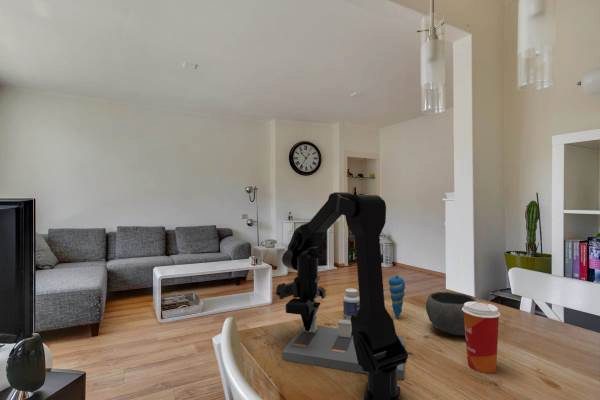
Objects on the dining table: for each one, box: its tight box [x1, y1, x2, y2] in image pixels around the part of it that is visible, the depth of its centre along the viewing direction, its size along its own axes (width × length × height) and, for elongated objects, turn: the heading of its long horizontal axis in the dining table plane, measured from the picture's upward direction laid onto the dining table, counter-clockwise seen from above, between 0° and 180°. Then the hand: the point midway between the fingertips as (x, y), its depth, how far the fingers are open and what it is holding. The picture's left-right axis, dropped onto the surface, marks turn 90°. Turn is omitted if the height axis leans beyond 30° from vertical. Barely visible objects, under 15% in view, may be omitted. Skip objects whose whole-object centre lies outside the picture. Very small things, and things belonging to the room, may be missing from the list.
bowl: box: [425, 291, 479, 336], centre depth 91 cm, size 15×15×10 cm
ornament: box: [388, 273, 406, 319], centre depth 102 cm, size 5×5×15 cm
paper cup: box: [462, 301, 501, 374], centre depth 71 cm, size 8×8×14 cm
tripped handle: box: [304, 315, 318, 333], centre depth 87 cm, size 2×3×4 cm
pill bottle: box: [342, 288, 360, 321], centre depth 100 cm, size 5×5×10 cm
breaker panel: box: [281, 325, 405, 381], centre depth 79 cm, size 18×28×2 cm, turn 71°
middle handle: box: [337, 319, 352, 338], centre depth 83 cm, size 2×3×4 cm
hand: (307, 330), depth 84 cm, fingers closed
